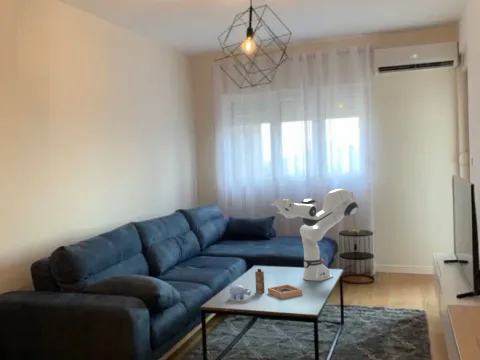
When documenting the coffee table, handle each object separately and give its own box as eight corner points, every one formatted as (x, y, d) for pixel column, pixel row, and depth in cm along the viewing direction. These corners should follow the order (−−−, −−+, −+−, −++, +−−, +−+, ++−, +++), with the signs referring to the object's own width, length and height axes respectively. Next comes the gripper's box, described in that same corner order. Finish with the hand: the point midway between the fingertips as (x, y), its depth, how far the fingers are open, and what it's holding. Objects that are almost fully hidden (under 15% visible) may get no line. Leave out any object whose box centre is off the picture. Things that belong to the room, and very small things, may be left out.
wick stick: (260, 291, 323) (259, 268, 322) (264, 292, 320) (263, 269, 319) (256, 292, 321) (255, 269, 320) (259, 293, 318) (259, 270, 317)
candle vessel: (288, 289, 325) (288, 284, 325) (302, 294, 311) (302, 289, 311) (268, 293, 317) (267, 288, 317) (281, 299, 303) (281, 293, 303)
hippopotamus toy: (247, 302, 299) (246, 287, 299) (225, 300, 305) (225, 285, 305) (253, 297, 309) (253, 282, 308) (232, 295, 315) (232, 281, 315)
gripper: (299, 213, 330) (282, 211, 338) (287, 197, 316) (269, 196, 324) (297, 221, 327) (279, 219, 336) (284, 206, 313) (266, 204, 321)
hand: (274, 208), depth 330 cm, fingers open, 8 cm apart
